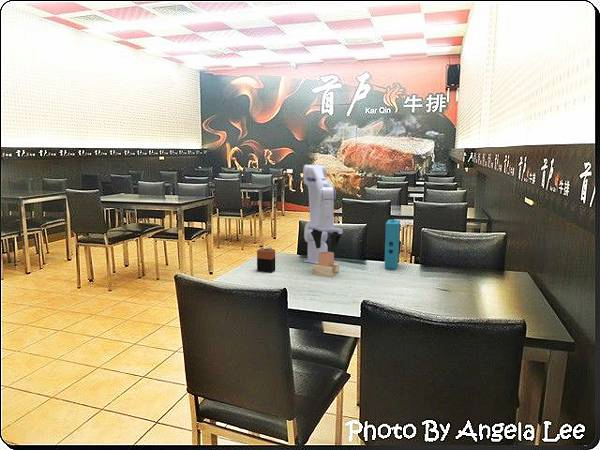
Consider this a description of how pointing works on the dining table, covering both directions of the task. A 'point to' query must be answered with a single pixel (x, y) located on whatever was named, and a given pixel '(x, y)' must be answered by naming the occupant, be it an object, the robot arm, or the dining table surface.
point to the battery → (266, 260)
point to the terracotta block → (326, 258)
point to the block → (392, 244)
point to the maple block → (326, 270)
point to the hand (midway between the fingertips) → (325, 249)
